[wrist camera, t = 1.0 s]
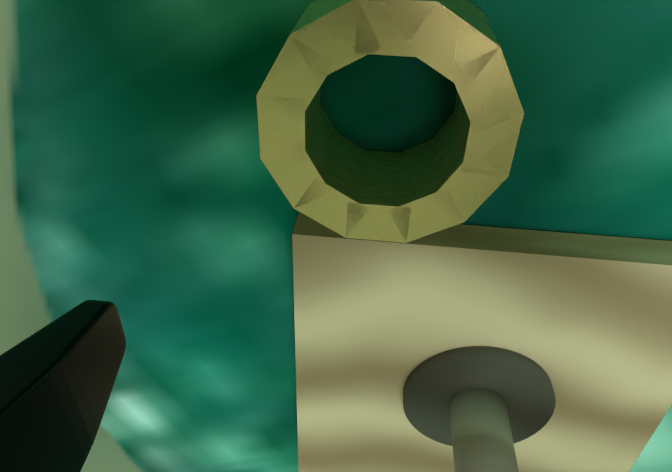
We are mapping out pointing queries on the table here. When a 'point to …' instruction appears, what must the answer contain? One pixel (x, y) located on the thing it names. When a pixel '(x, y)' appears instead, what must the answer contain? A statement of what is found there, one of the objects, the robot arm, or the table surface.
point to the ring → (380, 166)
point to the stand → (479, 350)
